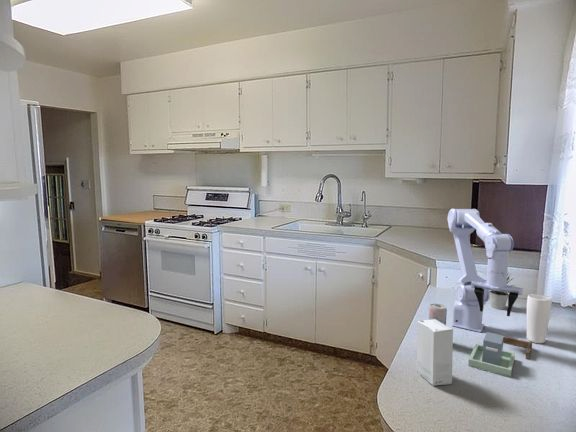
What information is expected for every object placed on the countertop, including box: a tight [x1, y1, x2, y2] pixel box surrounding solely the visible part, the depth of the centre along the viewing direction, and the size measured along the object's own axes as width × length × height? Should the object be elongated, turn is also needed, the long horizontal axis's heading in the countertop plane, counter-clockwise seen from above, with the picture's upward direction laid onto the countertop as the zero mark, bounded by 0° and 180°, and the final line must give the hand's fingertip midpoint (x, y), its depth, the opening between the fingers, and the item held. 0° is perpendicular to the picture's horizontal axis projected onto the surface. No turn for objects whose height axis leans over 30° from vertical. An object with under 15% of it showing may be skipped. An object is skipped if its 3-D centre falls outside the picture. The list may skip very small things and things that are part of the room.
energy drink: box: [427, 303, 448, 326], centre depth 126 cm, size 5×5×12 cm
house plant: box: [480, 271, 516, 310], centre depth 161 cm, size 14×14×16 cm
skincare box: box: [416, 319, 454, 387], centre depth 103 cm, size 8×6×15 cm
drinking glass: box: [525, 293, 552, 344], centre depth 128 cm, size 7×7×15 cm
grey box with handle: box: [482, 331, 505, 366], centre depth 112 cm, size 4×8×7 cm, turn 146°
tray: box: [467, 343, 516, 378], centre depth 113 cm, size 11×13×2 cm
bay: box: [503, 335, 533, 360], centre depth 122 cm, size 12×9×2 cm
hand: (494, 313), depth 124 cm, fingers open, 7 cm apart
